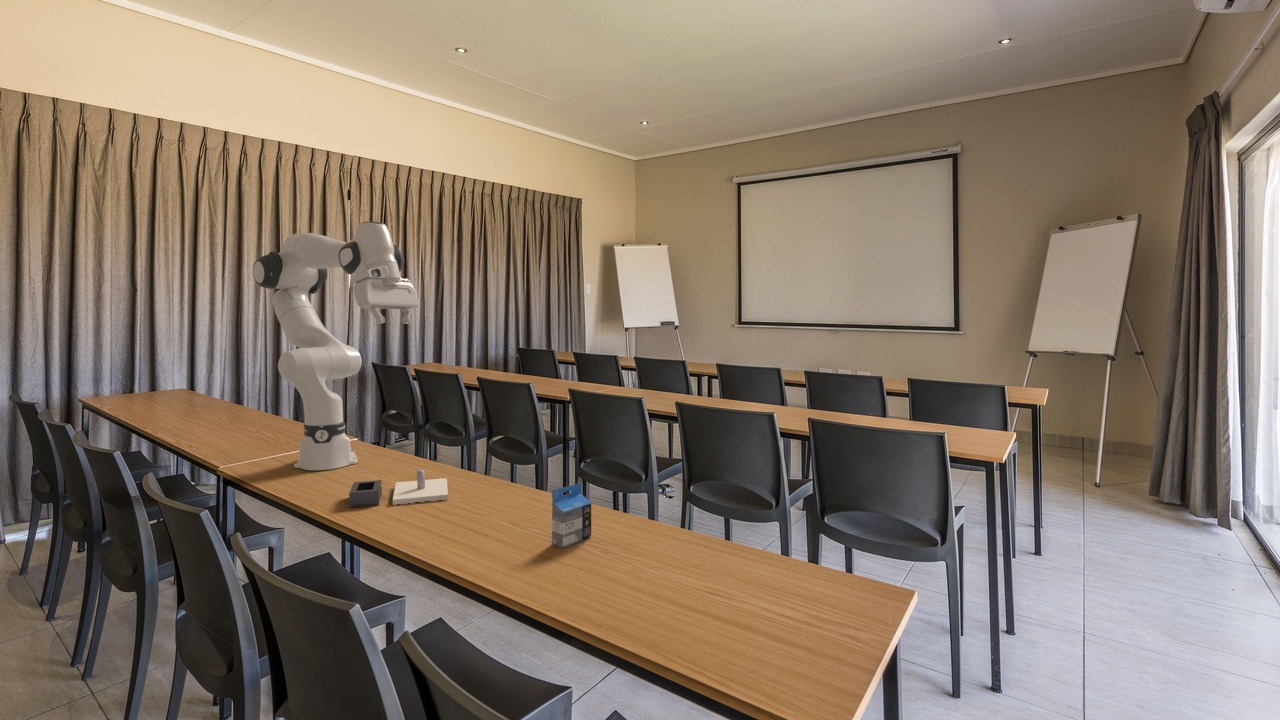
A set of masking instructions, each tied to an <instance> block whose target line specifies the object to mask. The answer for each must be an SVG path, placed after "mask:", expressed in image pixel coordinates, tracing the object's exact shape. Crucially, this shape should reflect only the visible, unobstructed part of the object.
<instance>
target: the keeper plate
mask: <svg viewBox="0 0 1280 720" xmlns="http://www.w3.org/2000/svg"><path fill="white" fill-rule="evenodd" d="M425 478H426V476H425V469H418V470H417V471H416V480H413V481H412V480H409V481H408V480H407V481H397V482H395V487H394V491H393V496H392V506H398V505H397V504H400V505H408V503H410V504H416V503H415V502H421V503H425V502H424V501H431V502H439V501H438V500H442V501H449V493H448V492H449V491H448V478H444V477H443V478H433V479H425Z"/></svg>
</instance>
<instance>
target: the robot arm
mask: <svg viewBox="0 0 1280 720" xmlns="http://www.w3.org/2000/svg"><path fill="white" fill-rule="evenodd" d="M404 265H405V258H404V254H403V252H402V251H401V250H400V249H399V247H398V246H397V245H396V244H394V243H393V240H392V236H391V233H390V231H389V229H388V227H387V225H386V224H385V223H384V222H380V221H373V220H370V221H363V222H360V223H358V224H357V225H356V231H355V234H354V236H353V237H352V239H351V240H350V241H349V242H345V241H342V240H338V239H336V238H333V237H329V236H326V235H323V234H320V233H316V232H315V233H313V232H299V233H294V234H291V235H289V236H288V237H286V238H285V239H284V241H283V245H282V251H280V252H275V251H274V250H272V251H270V252H268V253H267V254H265V255H262V256H260V257H258V258H257V259H256V260H255V261H254V263H253V266H252V275H253V279H254V281H255V283H256V284H257V285H258V286H259V287H261V288H265V289H269V290H274V289H277V291H275V293H274V294H273V297H272V305H273V309H274V313H275V315H276V317H277V318H276V319H277V320H278V322H279V324H280V326H281V328H282V331H283V332H284V334H285V337H286V338H287V340H288V341H289V343H290V344H291V345H293V346H295V347H297V348H294V349H292V350H287V351H284V352H283V353H282V355H280V358H279V359H278V363H277V369H278V372H279V374H280V376H281V378H283V380H285V381H286V382H288V383H290V384H291V385H292V386H294V388H295V389H296V390H297V391H298V393H299V395H300V397H301V399H302V403H303V413H304V423H303V430H302V431H303V435H304V437H303V438H302V439H301V440H300V441H299V443H298V446H299V447H298V461H296V462H295V463H294V464H293V468H295V469H302V470H303V471H304V470H306V471H327V470H328V471H329V470H334V469H339V468H343V467H347V466H351V465H354V464H358V462H359V461H358V457H357V455H356V453H355V451H354V450H353V448H352V447H351V439H350V438H349V436H347V434H346V423H345V422H346V421H345V420H344V409H343V404H344V403H343V400H342V397H341V396H340V395H339V394H337V393H336V392H333V391H331V390H329V389H328V386H327V383H326V382H327V381H331V380H339V379H340V380H341V379H345V378H348V377H351V376H354V375H357V374H358V373H359V372H360V371H361V367H362V363H363V362H362V360H363V359H362V357H361V353H360V352H359V350H357V348H355V347H354V346H351V345H348V344H346V343H344V342H342V341H341V340H339V339H337V338H336V337H335V336H334V335H333V334H331V333H330V331H328V329H327V328H326V327H325V325H324V324H323V323H322V321H321V319H320V318H319V315H318V314H317V313H316V311H315V309H314V307H313V305H312V304H311V302H310V300H309V294H310V295H314V294H316V293H317V292H318V290H320V289H321V288H322V287H324V286H323V285H325V284H326V281H327V279H328V269H335V268H342V270H343V271H344V272H345V273H346V274H347V275H351V281H352V283H353V284H354V285H353V292H354V299H355V301H356V304H357V306H358V307H359V308H360V309H369V310H370V313H371V314H372V316H373V317H374V319H375V321H376V324H380V325H381V324H384V323H386V317H385V316H384V315H382V313H381V312H380V311H381V309H382V310H401V312H402V313H403V317H401V321H402V323H401V324H403V325H404V324H405V325H407V324H410V323H411V314H412V310H414V309H417V308H419V306H420V300H419V297H418V294H417V291H416V289H415V287H414V285H413V283H412V282H411V281H410V280H409V279H408V278H402V277H401V274H400V272H401V271H402V270H403V268H404Z"/></svg>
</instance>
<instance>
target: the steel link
mask: <svg viewBox="0 0 1280 720" xmlns="http://www.w3.org/2000/svg"><path fill="white" fill-rule="evenodd" d="M382 490H383V489H382V479H378V480H377V479H376V480H366V481H365V480H364V481H354V482H353V484H352V486H351V488H350V490H349V492H348V496H349V499H348V500H349V508H350V509H354V508H365V507H373V506H375V505H377V506H379V505H380V503H379V502H380V501H381V499H382V494H383V493H382Z"/></svg>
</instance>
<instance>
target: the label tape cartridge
mask: <svg viewBox="0 0 1280 720" xmlns="http://www.w3.org/2000/svg"><path fill="white" fill-rule="evenodd" d="M581 485H582V484H581V482H578V483H575V484H571V485H567V486H565V487H561V488H558V489H554V490H551V500H552V502H551V504H552V506H551V511H552V512H551V544H552V545H553V546H555V547H558V548H560V549H565V548H568V547H570V546H572V545H574V544H575V545H576V544H578V543H580V542H583V541H585V540H587V539H590V538H592V502H591V501H590V500H588V498H586V496H585V495H583V494H582V491H581V490H582V489H581ZM566 491H567V492H570V493H567V494H564V493H566Z"/></svg>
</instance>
